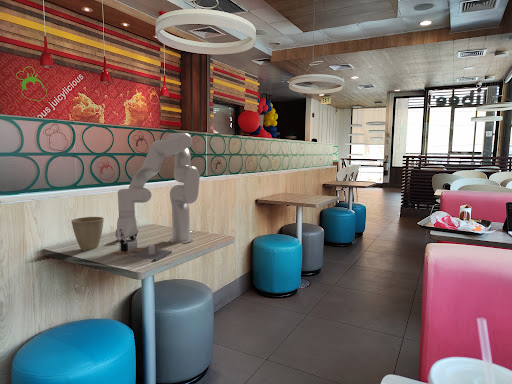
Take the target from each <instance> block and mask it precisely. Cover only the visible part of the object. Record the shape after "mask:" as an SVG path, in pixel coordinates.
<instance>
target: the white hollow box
mask: <svg viewBox="0 0 512 384" xmlns="http://www.w3.org/2000/svg"><path fill="white" fill-rule="evenodd" d="M126 244H127V251H126V253H131V252H133V251H135V250H137V248H138V239H136V240H132V239H128V238H127V240H126ZM118 248H119V249H118V250H119V252H123V251H121V244H120V242H119V241H118Z"/></svg>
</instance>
